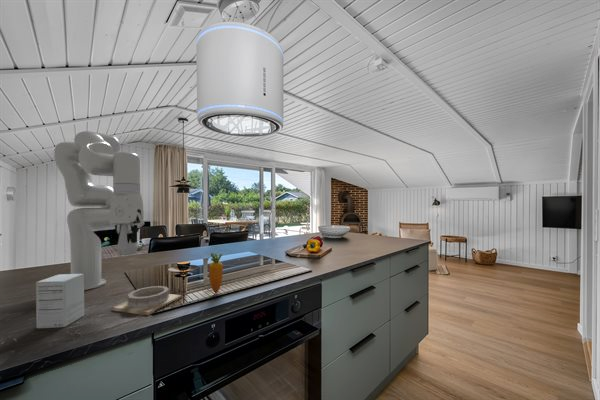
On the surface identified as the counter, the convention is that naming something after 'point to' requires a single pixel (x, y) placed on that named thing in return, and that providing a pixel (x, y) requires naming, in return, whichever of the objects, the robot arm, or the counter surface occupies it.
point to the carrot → (215, 272)
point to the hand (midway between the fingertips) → (127, 244)
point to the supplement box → (59, 300)
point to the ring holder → (146, 300)
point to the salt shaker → (126, 242)
